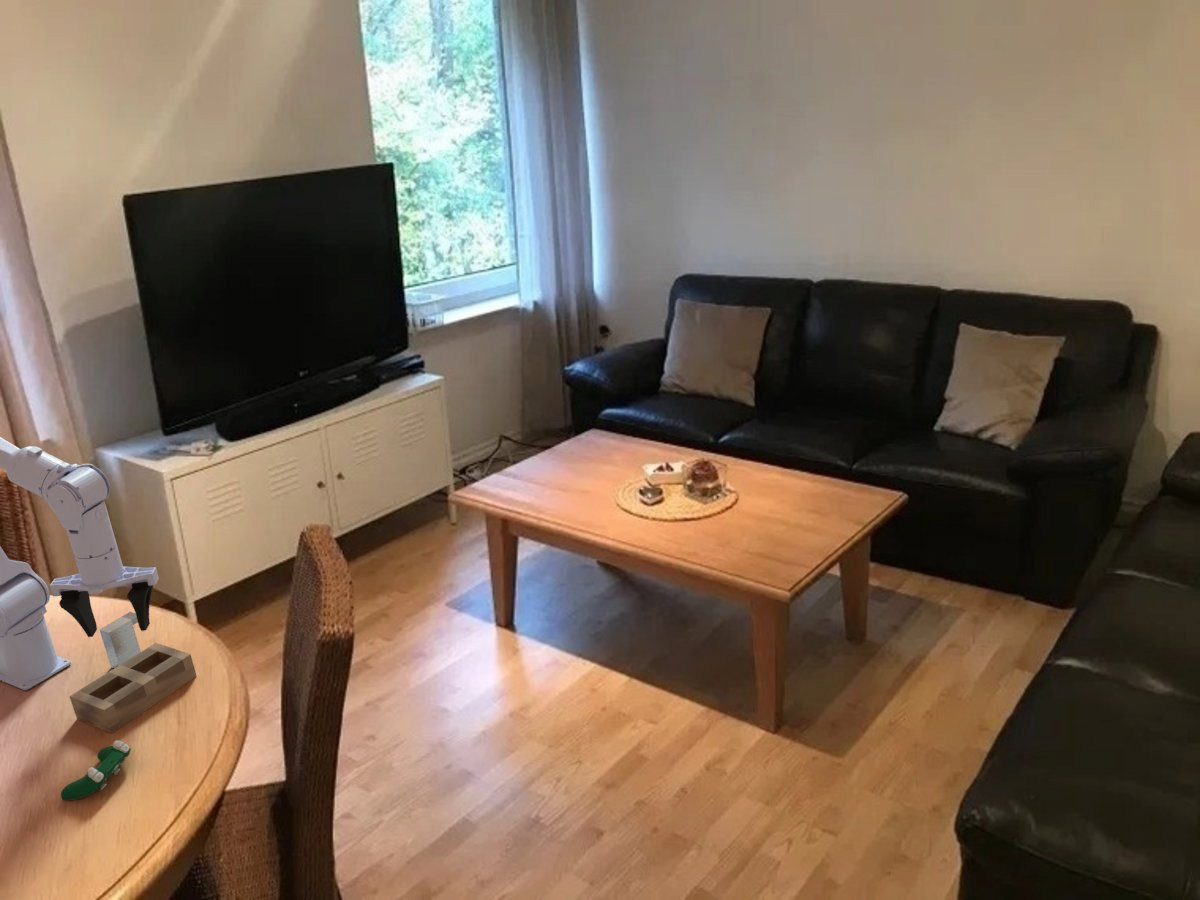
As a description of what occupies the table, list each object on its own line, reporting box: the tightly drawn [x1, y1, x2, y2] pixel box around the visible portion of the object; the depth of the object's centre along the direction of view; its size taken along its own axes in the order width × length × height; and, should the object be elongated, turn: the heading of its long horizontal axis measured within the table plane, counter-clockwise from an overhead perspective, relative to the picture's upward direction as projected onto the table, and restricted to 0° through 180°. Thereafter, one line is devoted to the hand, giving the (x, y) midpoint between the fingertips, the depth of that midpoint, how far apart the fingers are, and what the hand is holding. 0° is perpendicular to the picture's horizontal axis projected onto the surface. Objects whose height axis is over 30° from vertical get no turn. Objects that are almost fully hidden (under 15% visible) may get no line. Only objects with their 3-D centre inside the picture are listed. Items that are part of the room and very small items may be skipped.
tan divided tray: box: [69, 642, 197, 734], centre depth 157 cm, size 8×15×4 cm, turn 149°
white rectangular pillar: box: [99, 611, 142, 669], centre depth 166 cm, size 2×6×7 cm, turn 150°
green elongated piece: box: [60, 739, 131, 801], centre depth 140 cm, size 9×4×6 cm
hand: (119, 630), depth 157 cm, fingers open, 7 cm apart
